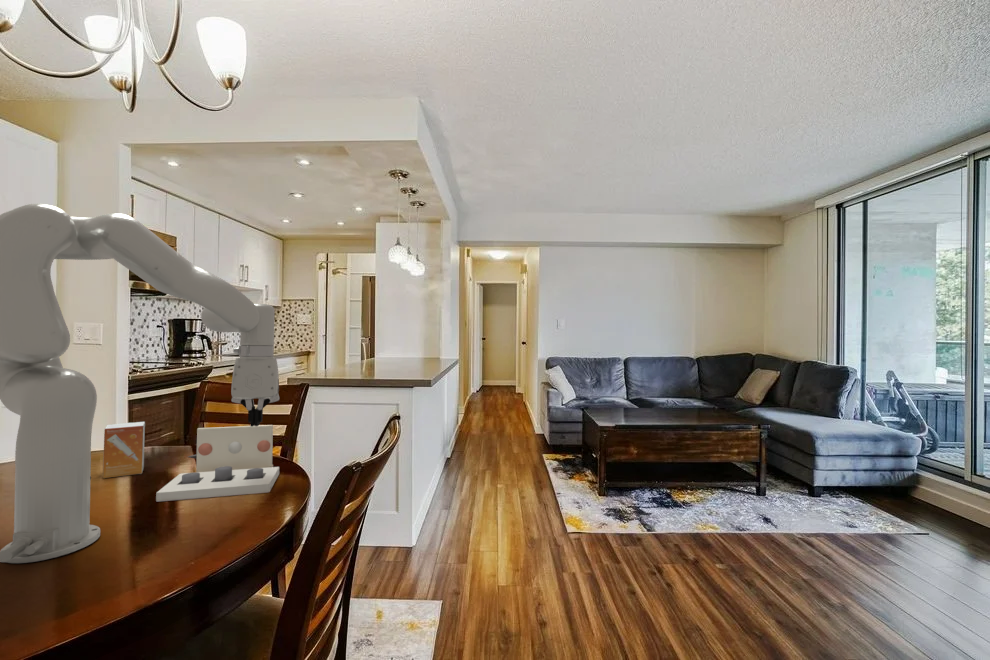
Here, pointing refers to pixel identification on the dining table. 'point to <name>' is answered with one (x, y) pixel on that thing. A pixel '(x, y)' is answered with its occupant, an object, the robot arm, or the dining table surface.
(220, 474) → the button
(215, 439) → the pattern card
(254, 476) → the button
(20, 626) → the dining table surface
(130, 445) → the small box
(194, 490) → the button board
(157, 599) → the dining table surface
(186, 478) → the button
